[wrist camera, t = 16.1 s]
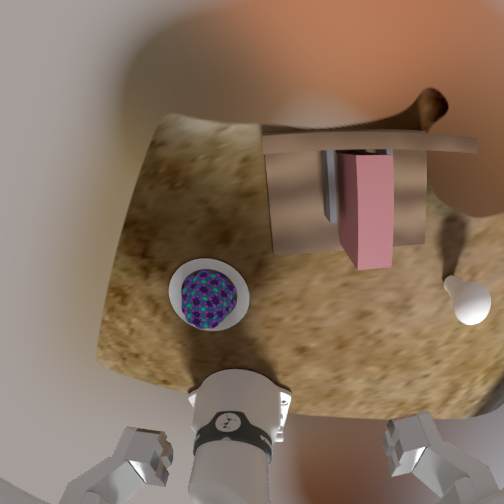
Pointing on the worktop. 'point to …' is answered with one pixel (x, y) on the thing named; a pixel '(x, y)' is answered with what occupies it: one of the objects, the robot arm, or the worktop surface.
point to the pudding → (208, 295)
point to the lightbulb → (468, 300)
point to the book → (366, 207)
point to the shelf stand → (326, 182)
